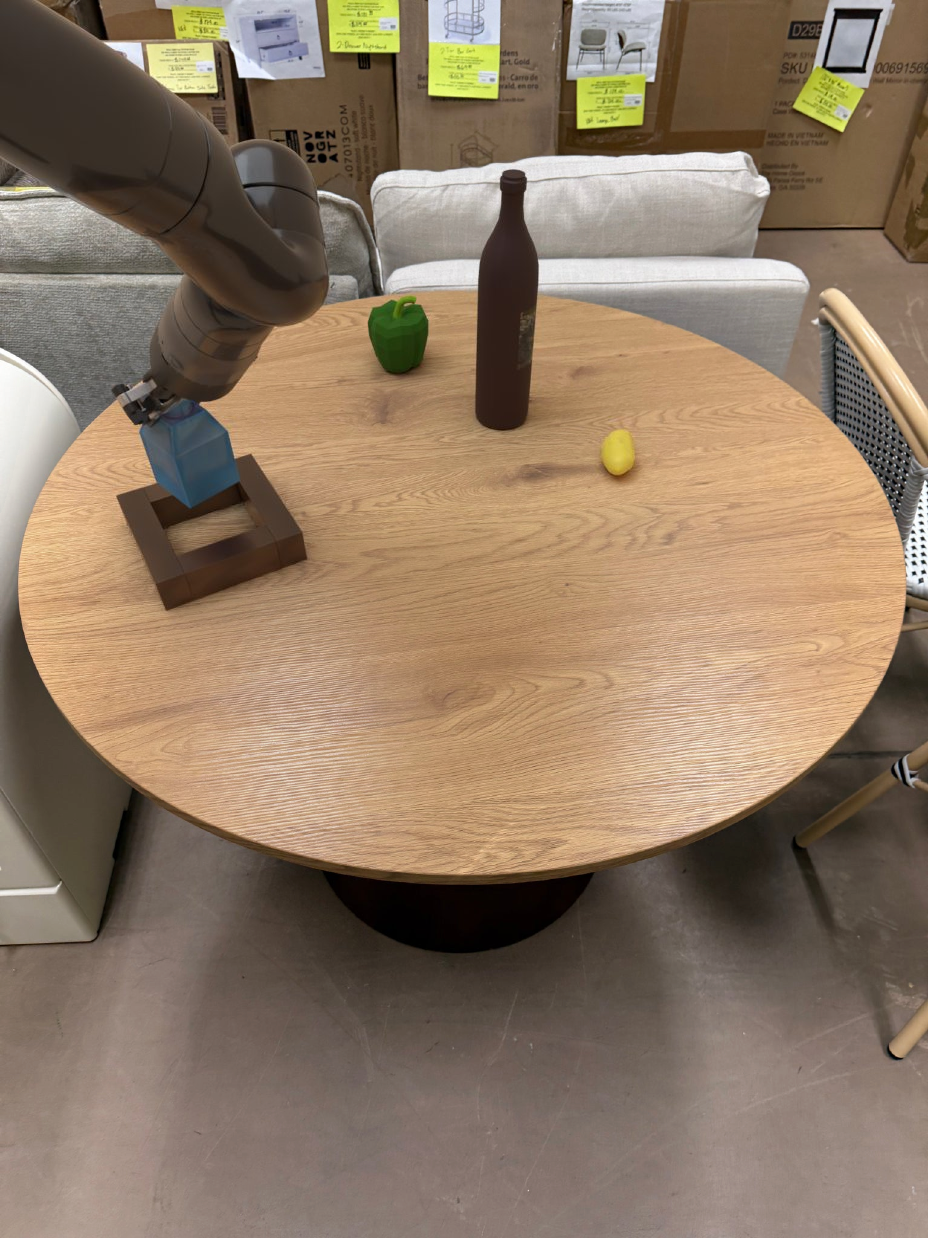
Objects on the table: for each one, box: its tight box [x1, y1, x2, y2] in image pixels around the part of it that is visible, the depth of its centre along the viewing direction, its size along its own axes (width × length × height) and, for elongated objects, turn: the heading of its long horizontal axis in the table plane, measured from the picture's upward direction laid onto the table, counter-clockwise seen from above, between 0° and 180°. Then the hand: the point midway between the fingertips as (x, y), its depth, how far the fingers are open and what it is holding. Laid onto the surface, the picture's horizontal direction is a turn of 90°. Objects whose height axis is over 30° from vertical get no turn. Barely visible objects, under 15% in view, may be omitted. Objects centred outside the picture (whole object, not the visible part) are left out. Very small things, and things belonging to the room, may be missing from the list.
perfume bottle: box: [138, 400, 240, 508], centre depth 81 cm, size 6×6×12 cm
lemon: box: [600, 429, 636, 476], centre depth 100 cm, size 4×8×4 cm, turn 167°
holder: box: [115, 453, 308, 611], centre depth 90 cm, size 16×16×4 cm
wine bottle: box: [474, 168, 540, 430], centre depth 97 cm, size 7×7×30 cm
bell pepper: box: [367, 295, 429, 374], centre depth 113 cm, size 8×8×10 cm
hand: (167, 407), depth 80 cm, fingers closed on perfume bottle, 4 cm apart
